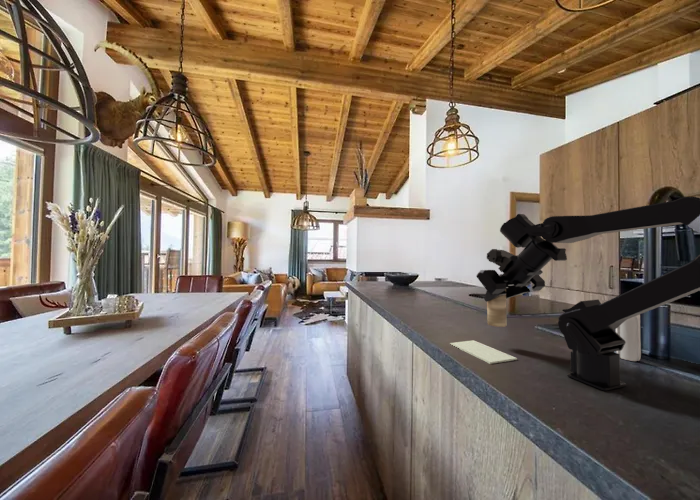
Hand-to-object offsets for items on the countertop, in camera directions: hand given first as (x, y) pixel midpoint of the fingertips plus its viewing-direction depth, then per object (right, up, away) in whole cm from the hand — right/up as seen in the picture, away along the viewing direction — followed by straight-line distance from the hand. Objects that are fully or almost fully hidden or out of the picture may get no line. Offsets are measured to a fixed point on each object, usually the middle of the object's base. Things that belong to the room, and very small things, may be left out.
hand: (492, 299), depth 75 cm
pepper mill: (+1, -7, -1) cm, 7 cm away
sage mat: (-6, -12, -6) cm, 15 cm away
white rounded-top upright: (+30, -13, -8) cm, 33 cm away
